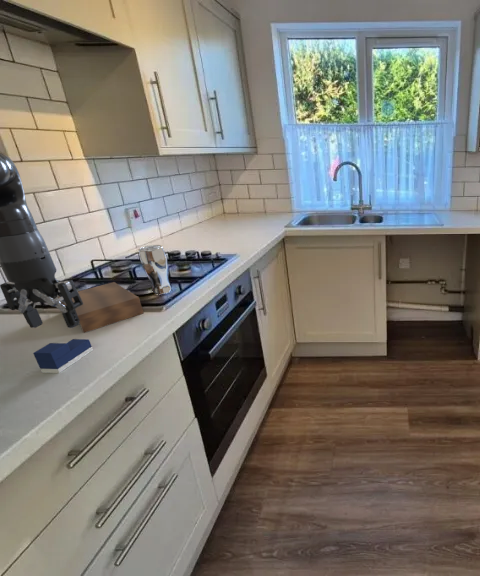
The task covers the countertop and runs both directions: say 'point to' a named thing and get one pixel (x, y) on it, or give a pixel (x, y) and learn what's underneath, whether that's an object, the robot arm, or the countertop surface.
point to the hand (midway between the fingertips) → (55, 326)
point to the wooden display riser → (106, 306)
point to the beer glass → (156, 268)
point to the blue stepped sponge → (61, 355)
